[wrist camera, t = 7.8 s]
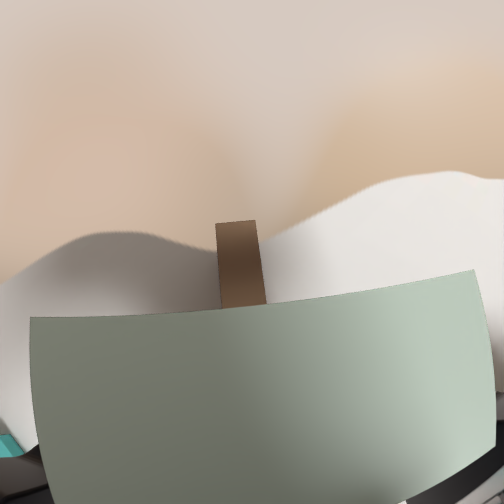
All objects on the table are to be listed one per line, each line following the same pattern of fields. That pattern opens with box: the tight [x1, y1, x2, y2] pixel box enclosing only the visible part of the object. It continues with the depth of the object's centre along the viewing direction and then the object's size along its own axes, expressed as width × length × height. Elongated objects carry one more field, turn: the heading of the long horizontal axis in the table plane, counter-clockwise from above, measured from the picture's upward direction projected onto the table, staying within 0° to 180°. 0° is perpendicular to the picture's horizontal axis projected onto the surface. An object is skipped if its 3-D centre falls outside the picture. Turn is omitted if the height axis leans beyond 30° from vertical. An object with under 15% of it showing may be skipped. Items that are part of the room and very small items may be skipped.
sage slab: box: [30, 269, 496, 504], centre depth 9 cm, size 3×6×13 cm, turn 97°
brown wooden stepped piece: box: [215, 220, 267, 309], centre depth 15 cm, size 17×2×5 cm, turn 7°
